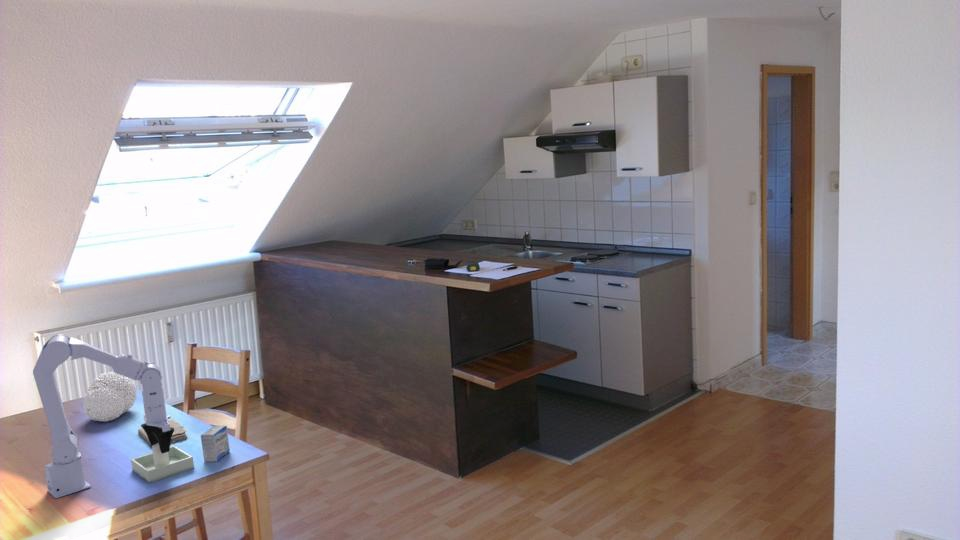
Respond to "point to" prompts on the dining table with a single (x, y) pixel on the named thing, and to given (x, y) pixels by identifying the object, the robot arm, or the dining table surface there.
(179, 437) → the washcloth
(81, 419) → the dining table surface
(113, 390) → the cauliflower
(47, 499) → the dining table surface
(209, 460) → the medicine box
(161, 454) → the white capsule cylinder
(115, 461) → the dining table surface
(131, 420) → the dining table surface
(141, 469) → the tote
